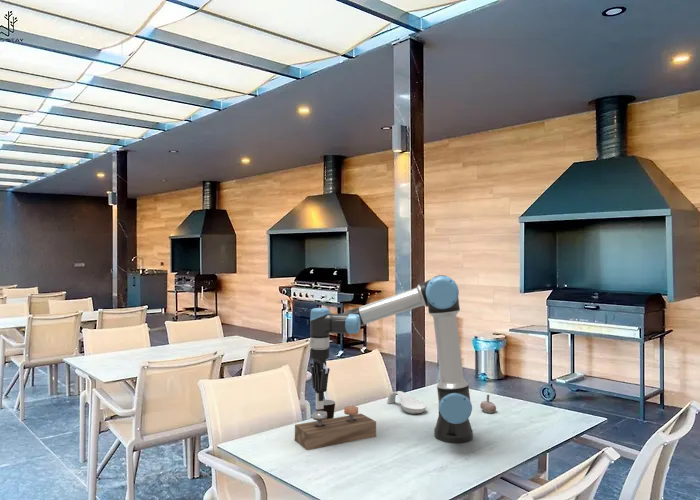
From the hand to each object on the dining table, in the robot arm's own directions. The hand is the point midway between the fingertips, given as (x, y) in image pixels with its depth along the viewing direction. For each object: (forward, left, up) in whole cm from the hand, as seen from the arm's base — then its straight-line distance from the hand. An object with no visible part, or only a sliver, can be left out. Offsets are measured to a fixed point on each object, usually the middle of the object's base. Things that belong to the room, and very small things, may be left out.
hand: (319, 408), depth 200 cm
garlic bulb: (-3, -85, -13) cm, 86 cm away
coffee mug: (+17, -11, -13) cm, 24 cm away
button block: (0, -7, -13) cm, 14 cm away
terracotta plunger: (0, -14, -10) cm, 17 cm away
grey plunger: (0, 0, -10) cm, 10 cm away
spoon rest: (+19, -54, -13) cm, 59 cm away
